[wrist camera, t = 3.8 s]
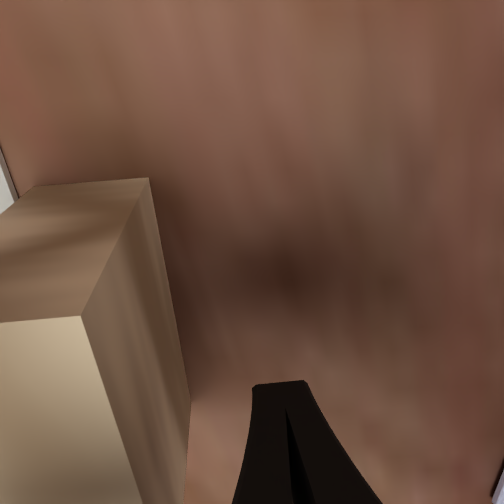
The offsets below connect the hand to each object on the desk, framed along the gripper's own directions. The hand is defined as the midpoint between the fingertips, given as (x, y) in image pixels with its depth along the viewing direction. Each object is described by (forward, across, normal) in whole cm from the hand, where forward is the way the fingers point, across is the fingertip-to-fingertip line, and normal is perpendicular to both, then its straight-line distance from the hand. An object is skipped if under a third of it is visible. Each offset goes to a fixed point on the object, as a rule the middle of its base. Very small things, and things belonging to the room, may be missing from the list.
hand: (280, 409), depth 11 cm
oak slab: (+5, +5, 0) cm, 7 cm away
